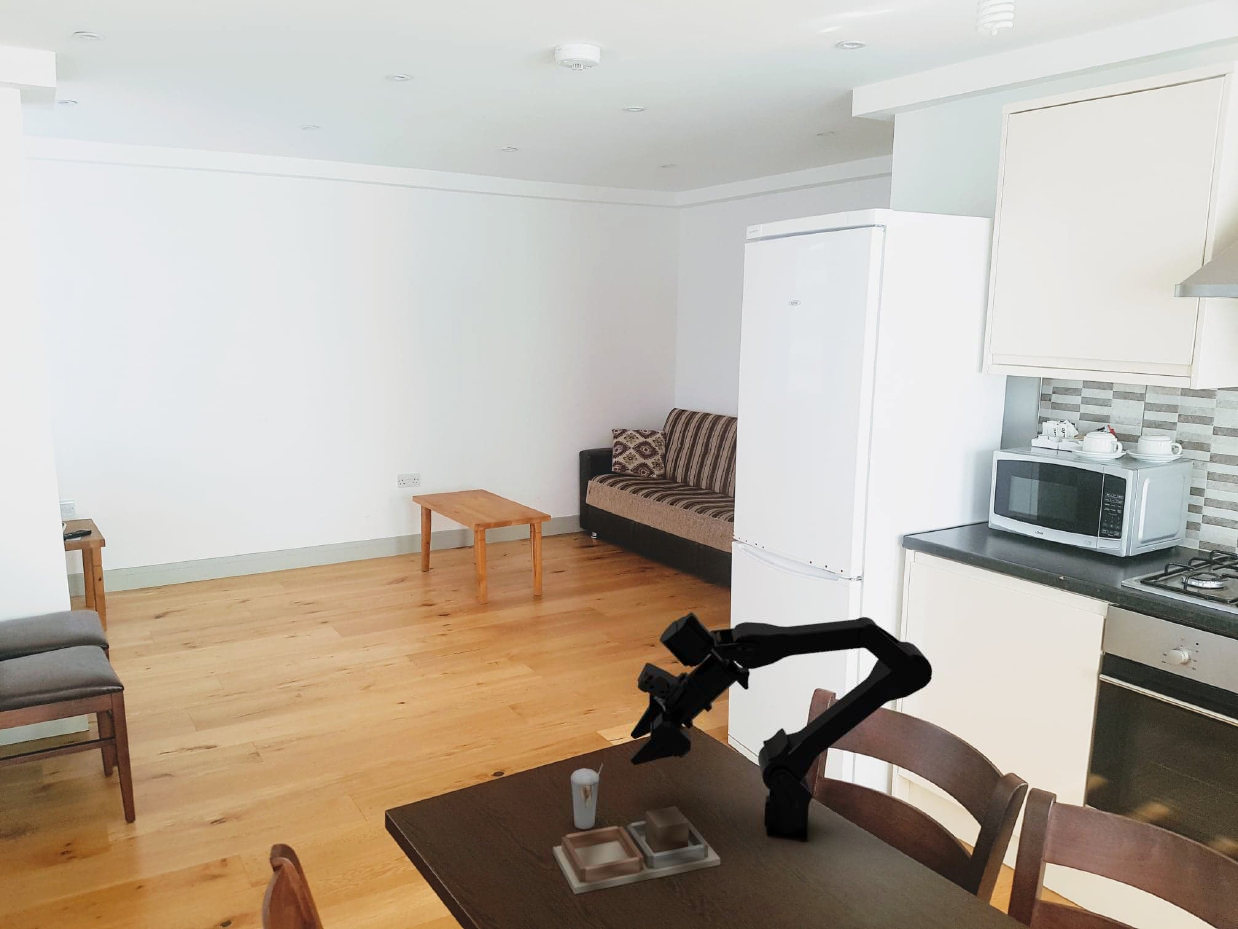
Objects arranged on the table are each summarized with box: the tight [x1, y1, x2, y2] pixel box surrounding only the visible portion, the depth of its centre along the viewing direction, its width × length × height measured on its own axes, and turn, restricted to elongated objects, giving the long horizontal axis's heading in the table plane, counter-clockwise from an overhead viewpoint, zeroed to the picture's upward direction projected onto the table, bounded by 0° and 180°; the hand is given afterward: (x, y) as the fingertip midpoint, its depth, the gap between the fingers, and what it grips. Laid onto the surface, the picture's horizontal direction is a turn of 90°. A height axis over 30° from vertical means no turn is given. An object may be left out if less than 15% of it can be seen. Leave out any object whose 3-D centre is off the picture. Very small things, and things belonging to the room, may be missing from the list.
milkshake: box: [570, 762, 604, 830], centre depth 150 cm, size 5×5×10 cm
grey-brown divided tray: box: [552, 805, 721, 895], centre depth 141 cm, size 23×11×6 cm, turn 110°
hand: (632, 749), depth 149 cm, fingers open, 9 cm apart
